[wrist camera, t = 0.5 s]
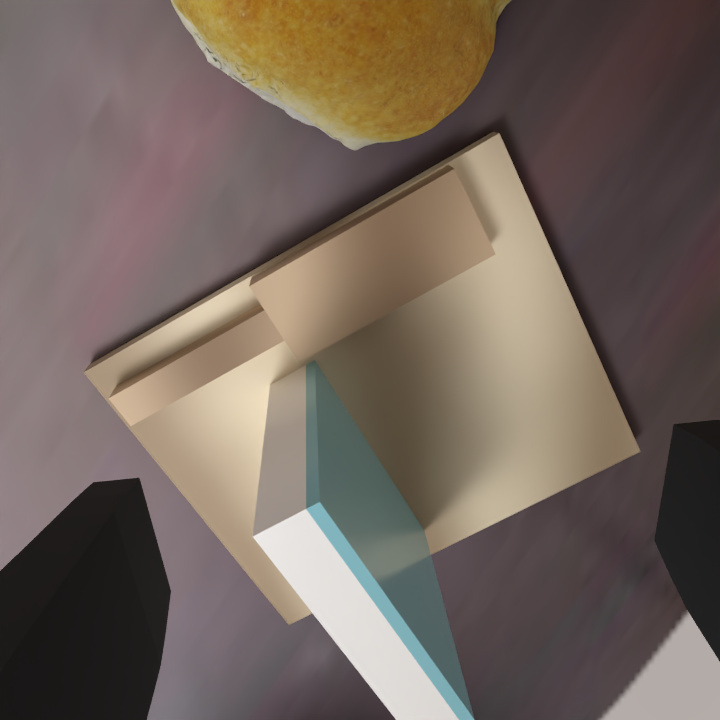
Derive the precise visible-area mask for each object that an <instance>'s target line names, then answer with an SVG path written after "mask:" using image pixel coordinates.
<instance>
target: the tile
mask: <svg viewBox="0 0 720 720" xmlns="http://www.w3.org/2000/svg"><path fill="white" fill-rule="evenodd" d="M253 538H254V539H255V540H256V542H257V543H258V544H259V546H260V547H261V548H262V549H263V551H264V552H265V553H266V554H267V556H268V557H269V558H270V560H271V561H272V562H273V563H274V565H275V566H276V567H277V569H278V570H279V571H280V572H281V574H282V575H283V576H284V577H285V579H286V580H287V581H288V583H289V584H290V585H291V586H292V588H293V589H294V590H295V591H296V593H297V594H298V595H299V597H300V598H301V599H302V600H303V602H304V603H305V604H306V605H307V607H308V608H309V609H310V611H311V612H312V613H313V614H314V616H315V617H316V618H317V619H318V621H319V622H320V623H321V625H322V626H323V627H324V628H325V630H326V631H327V632H328V634H329V635H330V636H331V637H332V639H333V640H334V641H335V642H336V644H337V645H338V646H339V648H340V649H341V650H342V651H343V653H344V654H345V655H346V656H347V658H348V659H349V660H350V662H351V663H352V664H353V665H354V667H355V668H356V669H357V670H358V672H359V673H360V674H361V676H362V677H363V678H364V679H365V681H366V682H367V683H368V685H369V686H370V687H371V688H372V690H373V691H374V692H375V693H376V695H377V696H378V697H379V699H380V700H381V701H382V702H383V704H384V705H385V706H386V707H387V709H388V710H389V711H390V713H391V714H392V715H393V716H394V718H395V719H396V720H475V719H474V716H473V712H472V708H471V704H470V701H469V697H468V693H467V689H466V685H465V682H464V678H463V674H462V670H461V667H460V663H459V659H458V655H457V652H456V648H455V644H454V640H453V636H452V633H451V629H450V625H449V621H448V618H447V614H446V610H445V606H444V602H443V599H442V595H441V591H440V587H439V584H438V580H437V576H436V572H435V568H434V565H433V561H432V557H431V553H430V550H429V546H428V542H427V538H426V535H425V531H424V529H423V527H422V526H421V524H420V523H419V521H418V520H417V518H416V517H415V515H414V513H413V512H412V510H411V509H410V507H409V506H408V504H407V503H406V501H405V499H404V498H403V496H402V495H401V493H400V492H399V490H398V489H397V487H396V485H395V484H394V482H393V481H392V479H391V478H390V476H389V475H388V473H387V471H386V470H385V468H384V467H383V465H382V464H381V462H380V461H379V459H378V457H377V456H376V454H375V453H374V451H373V450H372V448H371V447H370V445H369V444H368V442H367V440H366V439H365V437H364V436H363V434H362V433H361V431H360V430H359V428H358V426H357V425H356V423H355V422H354V420H353V419H352V417H351V416H350V414H349V412H348V411H347V409H346V408H345V406H344V405H343V403H342V402H341V400H340V398H339V397H338V395H337V394H336V392H335V391H334V389H333V388H332V386H331V384H330V383H329V381H328V380H327V378H326V377H325V375H324V374H323V372H322V370H321V369H320V367H319V366H318V364H317V363H316V361H315V360H314V361H312V362H310V363H309V364H307V365H305V366H303V367H301V368H299V369H298V370H296V371H294V372H292V373H290V374H289V375H287V376H285V377H283V378H281V379H279V380H278V381H276V382H274V383H272V384H270V390H269V398H268V407H267V416H266V424H265V433H264V442H263V450H262V459H261V467H260V476H259V485H258V493H257V502H256V511H255V519H254V528H253Z"/></svg>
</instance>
